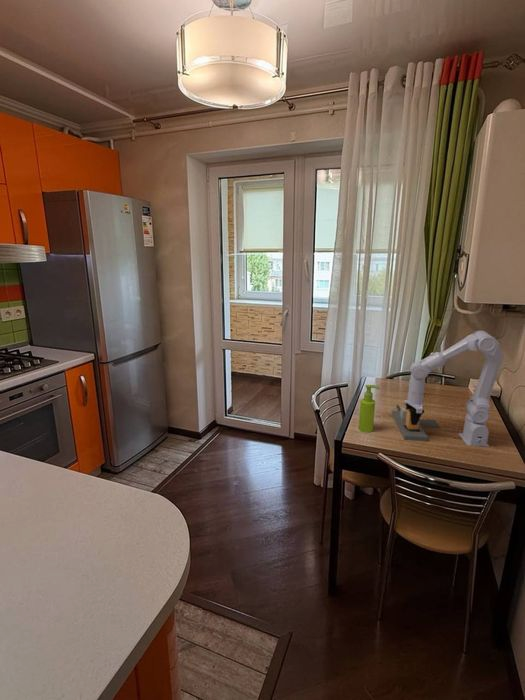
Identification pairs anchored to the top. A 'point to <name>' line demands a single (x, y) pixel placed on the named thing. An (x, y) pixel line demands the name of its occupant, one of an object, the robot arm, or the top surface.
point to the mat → (428, 423)
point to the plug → (408, 421)
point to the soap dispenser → (367, 410)
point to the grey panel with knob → (401, 423)
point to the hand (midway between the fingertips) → (412, 421)
